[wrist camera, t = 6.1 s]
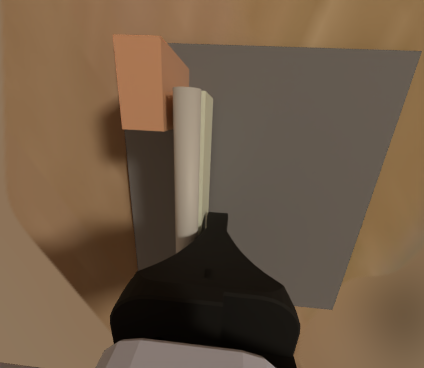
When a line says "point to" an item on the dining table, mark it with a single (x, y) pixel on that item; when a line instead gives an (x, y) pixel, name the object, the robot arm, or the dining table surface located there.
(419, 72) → the dining table surface
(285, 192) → the mat
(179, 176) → the bar
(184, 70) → the block
